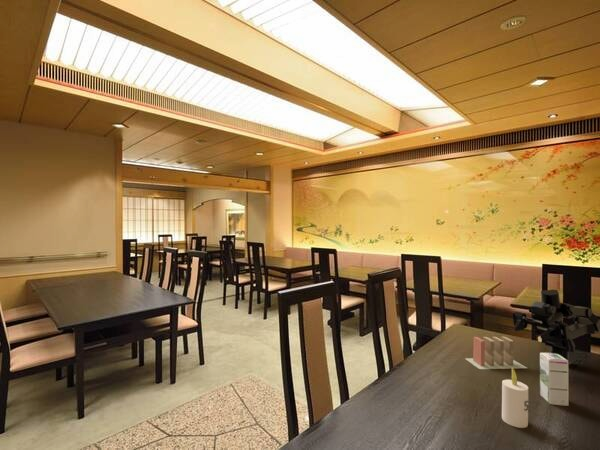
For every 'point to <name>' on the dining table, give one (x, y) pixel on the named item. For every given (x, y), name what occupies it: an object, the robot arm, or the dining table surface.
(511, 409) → the candle
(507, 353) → the domino
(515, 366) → the mat
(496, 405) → the dining table surface
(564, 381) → the syrup box
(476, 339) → the domino
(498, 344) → the domino
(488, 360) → the domino
